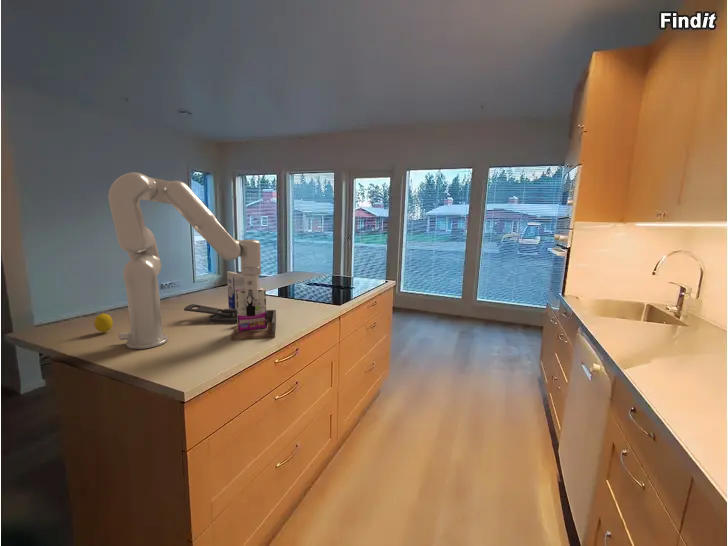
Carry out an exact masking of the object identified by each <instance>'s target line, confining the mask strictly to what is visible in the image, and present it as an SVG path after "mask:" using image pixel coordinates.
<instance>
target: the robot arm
mask: <svg viewBox="0 0 728 546" xmlns="http://www.w3.org/2000/svg"><path fill="white" fill-rule="evenodd" d="M141 200H143V201H149V202H155V203H162V204H168V205H171V206H172V207H173V208H174V209H175V210H176V211H177V212H178V213H179V214H180V215H181V216H182V217H183V218H184V219H185V220H186V221H187V223H189V225H190V226H191V227H192V228H193V229H194V230H195V232H197V233H198V234H199V235H200V236H201V237H202V238H203V239H204V240H205V241H206V242H207V243H208V245H210V247H211V248H212V249H213V250H214V251H215V252H216V254H218V255H219V256H220V257H221V258H223V260H226V261H234V260H237V258H239V259H240V272H241V275H243V276H244V288H245V299H246V300H247V306H246V313H247V316H255V306H254V300H255V299H256V300H258V299H259V288H260V278H259V276H261V275H262V266H261V263H262V262H261V259H262V258H261V242H260V240H258V239H241V240H240V239H235V238H233V237H232V235H230V233H229V232H228V231H226V229H225V228H224V227H223V226H222V224H221V223H220V222H219V221H218V219H217V217H216V215H215V214H214V213H213V212H212V211H211V210H210V209H209V208H208V206H206V204H205V203H204V202H203V201H202V200H201V199H200V198H199V196H197V194H195V192H194V191H193V190H192V189H191V188H190V187H189V186H188V185H187V183H185V182H183V181H181V180H173V181H172V180H171V181H170V180H165V179H160V178H156V177H155V178H154V177H151V176H150V177H149V176H147V175H146V174H143V173H140V172H137V171H136V172H135V171H134V172H133V171H132V172H128V173H125V174H122V175H121V176H119V177H118V178H116V179H115V180H114V181H113V183H112V184H111V186H110V188H109V190H108V205H109V207H110V211H111V213H110V214H111V216H112V220H113V221H112V222H113V224H114V229H115V234H116V237H117V242H118V246H119V247H120V248H121V249H122V250H123V251H124V252H126V253H127V254H128V258H129V261H127V262H126V264H125V265H124V267H123V271H122V272H123V274H122V275H123V280H124V281H123V282H124V285H125V291H126V297H127V300H126V301H127V308H128V317H129V327H130V330H129V332H119V333H118V336H117V337H118V338H119V341H122V340H123V341H124V340H127V341H126V343H125V344H126V347H127V348H128V349H132V350H143V349H144V350H145V349H152V348H154V347H158V346H159V347H160V346H161V345H163V344H165V343H166V342H168V339H169V337H168V335H166V334H163V325H162V324H163V323H162V311H161V310H162V309H161V298H160V297H161V296H160V290H159V289H160V288H159V284H158V283H159V282H158V276H159V275H160V273H161V270H162V263H161V257H160V254H159V249H158V244H157V241H156V238H155V237H156V236H155V235H154V233H153V232H152V231H151V230H150V229H149V228H148V227H147V226H146V224H145V223H146V222H145V220H144V213H143V211H142V207H141Z"/></svg>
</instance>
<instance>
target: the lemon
mask: <svg viewBox="0 0 728 546" xmlns="http://www.w3.org/2000/svg"><path fill="white" fill-rule="evenodd" d="M113 324H114V323H113V319H112V317H111V315H109V314H108V313H107V314H106V313H100V314H99V315H98V316H96V317H95V320H94V327H95V329H96V330H97V332H101V333H103V334H105V332H106V333H107V332H108V331H110V330H111V329H112V328H113V326H114V325H113Z"/></svg>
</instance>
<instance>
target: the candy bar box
mask: <svg viewBox="0 0 728 546" xmlns="http://www.w3.org/2000/svg"><path fill="white" fill-rule="evenodd" d="M266 292H267V291H266V289H265V288H264V287H259V299H258V300H256V299H255V300H254V306H255V316H247V313H246V306H247V300H246V299H245V289H241V290H236V303H237V323H238V331H239V332H241V331H249V330H257V329H265V328H267V317H266V310H267V299H266V298H267V296H266ZM237 323H236V324H237Z"/></svg>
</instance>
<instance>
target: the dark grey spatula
mask: <svg viewBox="0 0 728 546" xmlns="http://www.w3.org/2000/svg"><path fill="white" fill-rule="evenodd" d="M183 311H185V312H191V313H192V312H194V313H201V314H210V316H209V322H210V323H211V324H212V323H213V324H228V325H231V324H232V325H234V324H236V325H237V309H229V308H224V309H222V308H219V307H218V308H217V307H210V306H205V305H200V304H193V303H191V304H189V305H187V306H185V307H184V309H183Z"/></svg>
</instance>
